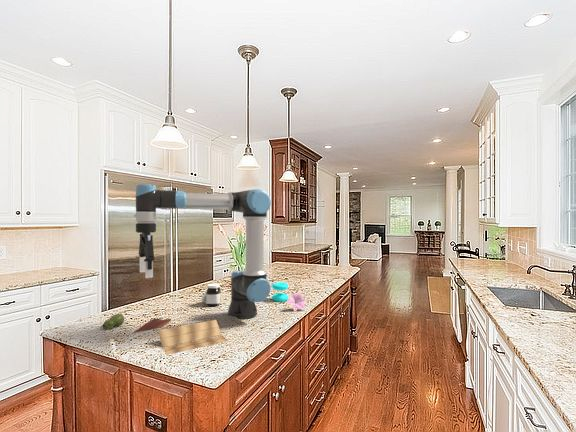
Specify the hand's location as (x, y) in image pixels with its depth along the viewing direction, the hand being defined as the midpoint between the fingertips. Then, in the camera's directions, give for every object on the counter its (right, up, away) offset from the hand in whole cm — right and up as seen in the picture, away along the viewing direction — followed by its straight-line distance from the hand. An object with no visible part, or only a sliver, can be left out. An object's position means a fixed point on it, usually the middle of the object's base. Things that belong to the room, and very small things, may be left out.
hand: (146, 275), depth 131 cm
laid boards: (+21, -28, -3) cm, 35 cm away
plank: (+17, -25, +4) cm, 31 cm away
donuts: (+53, -28, +68) cm, 90 cm away
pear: (-24, -28, +20) cm, 42 cm away
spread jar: (+13, -28, +58) cm, 65 cm away
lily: (+62, -28, +47) cm, 83 cm away
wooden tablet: (-6, -29, +17) cm, 34 cm away
